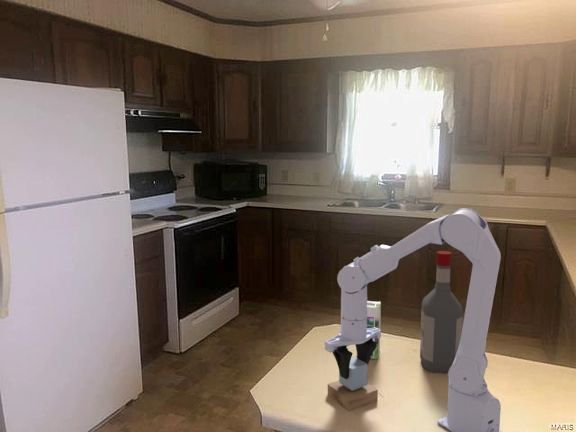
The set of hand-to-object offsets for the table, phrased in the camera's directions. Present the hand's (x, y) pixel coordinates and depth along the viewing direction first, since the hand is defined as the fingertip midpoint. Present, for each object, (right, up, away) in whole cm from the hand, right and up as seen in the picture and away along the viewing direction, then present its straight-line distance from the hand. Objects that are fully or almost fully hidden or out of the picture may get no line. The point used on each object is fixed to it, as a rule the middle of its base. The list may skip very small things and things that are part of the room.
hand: (353, 374), depth 104 cm
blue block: (0, -2, 0) cm, 2 cm away
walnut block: (0, -6, +1) cm, 6 cm away
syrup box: (+7, -3, +23) cm, 24 cm away
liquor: (+25, -3, +16) cm, 30 cm away
